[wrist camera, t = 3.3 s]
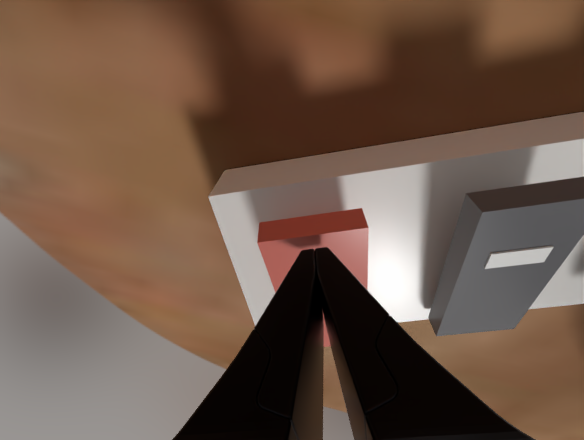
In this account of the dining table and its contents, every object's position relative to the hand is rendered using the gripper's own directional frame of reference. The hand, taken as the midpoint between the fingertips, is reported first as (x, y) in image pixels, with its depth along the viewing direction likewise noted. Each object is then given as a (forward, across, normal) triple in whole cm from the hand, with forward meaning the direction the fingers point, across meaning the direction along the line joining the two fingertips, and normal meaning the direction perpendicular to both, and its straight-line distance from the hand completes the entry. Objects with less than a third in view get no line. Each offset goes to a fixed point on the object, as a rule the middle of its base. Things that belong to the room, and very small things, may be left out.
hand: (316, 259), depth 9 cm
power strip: (+6, -10, +3) cm, 12 cm away
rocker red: (+2, 0, +3) cm, 4 cm away
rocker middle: (+2, -7, +3) cm, 8 cm away
